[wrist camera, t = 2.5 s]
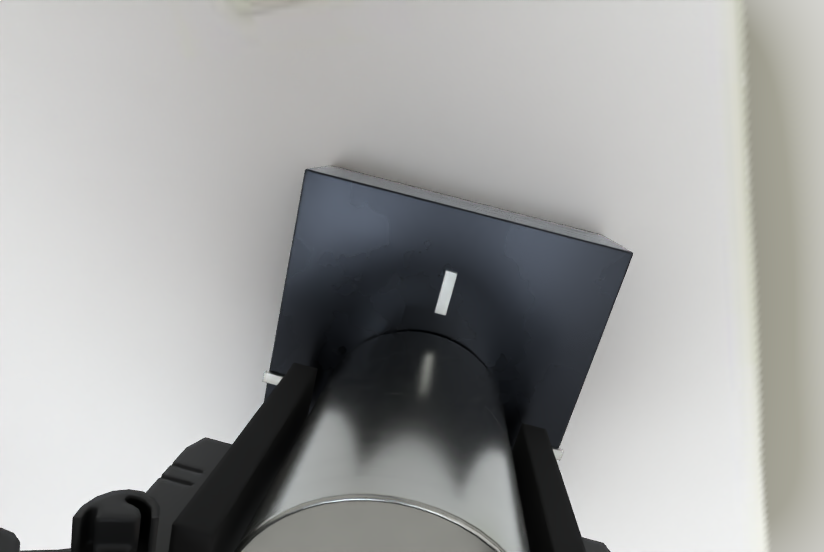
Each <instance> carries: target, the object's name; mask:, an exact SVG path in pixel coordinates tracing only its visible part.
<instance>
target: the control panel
mask: <svg viewBox="0 0 824 552" xmlns="http://www.w3.org/2000/svg"><path fill="white" fill-rule="evenodd" d="M632 256H633V253H632V252H631V251H629V250H627V249H626V248H624V247H622V246H620V245H619V244H617V243H615V242H614V241H612V240H610V239H608V238H607V237H605V236H603V235H600V234H596V233H593V232H589V231H585V230H581V229H577V228H573V227H569V226H565V225H561V224H557V223H553V222H550V221H546V220H542V219H538V218H534V217H530V216H526V215H522V214H518V213H514V212H511V211H507V210H503V209H499V208H495V207H491V206H487V205H483V204H479V203H475V202H471V201H468V200H464V199H460V198H456V197H452V196H448V195H444V194H440V193H436V192H432V191H429V190H425V189H421V188H417V187H413V186H409V185H405V184H401V183H397V182H393V181H390V180H386V179H382V178H378V177H374V176H370V175H366V174H362V173H358V172H354V171H350V170H347V169H343V168H339V167H335V166H325V167H317V168H310V169H306V170H305V173H304V179H303V185H302V190H301V196H300V202H299V207H298V213H297V218H296V224H295V230H294V235H293V241H292V247H291V252H290V258H289V263H288V269H287V275H286V280H285V286H284V292H283V297H282V303H281V308H280V314H279V320H278V325H277V331H276V337H275V342H274V348H273V353H272V359H271V365H270V370H269V371H265V372H264V377H263V382H266V383H267V387H266V393H265V398H264V402H265V400H266V399H267V398H268V396H269V395H270V394H271V392H272V391H273V390H274V388H275V387H276V386H277V384H278V383H279V382H280V380H281V379H282V378H283V377H284V375H285V374H286V373H287V371H288V370H289V369H290V367H291V366H292V365H293V363H298V364H302V365H306V366H309V367H313V368H317V369H318V370H317V375H316V380H315V385H314V389H313V394H312V399H311V404H310V408H309V413H308V415H309V414H310V412H311V410H312V408H313V406H314V405H315V403H316V401H317V399H318V397H319V395H320V394H321V392H322V390H323V388H324V386H325V385H326V383H327V381H328V379H329V377H330V375H331V374H332V372H333V370H334V369H335V367H336V366H337V364H338V363H339V362H340V361H341V360H342V359H343V358H344V356H345V355H347V354H348V353H349V352H350V351H351V350H353V349H354V348H355V347H357V346H358V345H360V344H362V343H363V342H365V341H368V340H370V339H372V338H374V337H377V336H381V335H384V334H388V333H394V332H405V331H413V332H424V333H429V334H434V335H437V336H440V337H443V338H446V339H448V340H450V341H453V342H455V343H457V344H459V345H460V346H462V347H463V348H465V349H466V350H468V351H469V352H470V353H472V354H473V355H474V356H475V357H476V358H478V360H479V361H480V362H481V363H482V364H483V365H484V366H485V367H486V369H487V370H488V371H489V373H490V374H491V376H492V377H493V379H494V381H495V383H496V385H497V387H498V390H499V393H500V396H501V400H502V405H503V410H504V415H505V421H506V426H507V431H508V437H509V442H510V447H511V452H512V450H513V447H514V444H515V441H516V438H517V435H518V433H519V430H520V427H521V424H522V423H524V424H528V425H532V426H536V427H540V428H543V429H546V430H547V433H548V437H549V440H550V443H551V446H552V449H553V452H554V455H555V458H556V460H559V461H560V459H561V457H562V454H563V449H560V448H559V446H560V444H561V441H562V438H563V436H564V433H565V430H566V428H567V425H568V423H569V420H570V417H571V415H572V412H573V410H574V407H575V404H576V402H577V399H578V397H579V394H580V391H581V389H582V386H583V384H584V381H585V378H586V376H587V373H588V370H589V368H590V365H591V363H592V360H593V357H594V355H595V352H596V350H597V347H598V344H599V342H600V339H601V337H602V334H603V331H604V329H605V326H606V324H607V321H608V318H609V316H610V313H611V310H612V308H613V305H614V303H615V300H616V297H617V295H618V292H619V290H620V287H621V284H622V282H623V279H624V277H625V274H626V271H627V269H628V266H629V263H630V261H631V258H632Z"/></svg>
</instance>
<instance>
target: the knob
mask: <svg viewBox="0 0 824 552" xmlns="http://www.w3.org/2000/svg"><path fill="white" fill-rule="evenodd" d="M234 552H530V548H529V543H528V537H527V532H526V527H525V521H524V516H523V511H522V506H521V500H520V495H519V490H518V484H517V479H516V474H515V468H514V463H513V458H512V453H511V447H510V442H509V437H508V431H507V426H506V421H505V415H504V410H503V405H502V400H501V396H500V393H499V390H498V387H497V385H496V383H495V381H494V379H493V377H492V376H491V374H490V373H489V371H488V370H487V369H486V367H485V366H484V365H483V364H482V363H481V362H480V361H479V360H478V358H476V357H475V356H474V355H473V354H472V353H470V352H469V351H468V350H466V349H465V348H463V347H462V346H460V345H459V344H457V343H455V342H453V341H450V340H448V339H446V338H443V337H440V336H437V335H434V334H429V333H424V332H413V331H405V332H394V333H388V334H384V335H381V336H377V337H374V338H372V339H370V340H368V341H365V342H363V343H362V344H360V345H358V346H357V347H355V348H354V349H353V350H351V351H350V352H349V353H348V354H347V355H345V356H344V358H343V359H342V360H341V361H340V362H339V363H338V364H337V366H336V367H335V369H334V370H333V372H332V374H331V375H330V377H329V379H328V381H327V383H326V385H325V386H324V388H323V390H322V392H321V394H320V395H319V397H318V399H317V401H316V403H315V405H314V406H313V408H312V410H311V412H310V414H309V415H308V417H307V419H306V421H305V423H304V425H303V426H302V428H301V430H300V432H299V434H298V435H297V437H296V439H295V441H294V443H293V445H292V446H291V448H290V450H289V452H288V454H287V456H286V457H285V459H284V461H283V463H282V465H281V466H280V468H279V470H278V472H277V474H276V476H275V477H274V479H273V481H272V483H271V485H270V486H269V488H268V490H267V492H266V494H265V496H264V497H263V499H262V501H261V503H260V505H259V507H258V508H257V510H256V512H255V514H254V516H253V517H252V519H251V521H250V523H249V525H248V527H247V528H246V530H245V532H244V534H243V536H242V537H241V539H240V541H239V543H238V545H237V547H236V548H235V550H234Z"/></svg>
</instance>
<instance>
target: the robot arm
mask: <svg viewBox="0 0 824 552" xmlns="http://www.w3.org/2000/svg"><path fill="white" fill-rule="evenodd" d="M317 370H318V369H317V368H313V367H309V366H306V365H302V364H298V363H293V365H292V366H291V367H290V369H289V370H288V371H287V373H286V374H285V375H284V377H283V378H282V379H281V380H280V382H279V383H278V384H277V386H276V387H275V388H274V390H273V391H272V392H271V394H270V395H269V396H268V398H267V399H266V400H265V402H264V403H263V404H262V406H261V407H260V408H259V410H258V411H257V412H256V414H255V415H254V416H253V418H252V419H251V420H250V422H249V423H248V424H247V426H246V427H245V428H244V430H243V431H242V432H241V434H240V435H239V436H238V438H237V439H236V440H235V442H234V443H233V444H228V443H224V442H221V441H217V440H213V439H210V438H206V437H205V438H203V439H202V440H200V441H198V442H196V443H194V444H192V445H190V446H189V447H187V448H186V449H185V450H184V451H183V452H182V453H181V454H180V455H179V456H178V457H177V459H176V460H175V461H174V462H173V464H172V466H171V465H170V466H169V467H168V469H167V470H166V471H165V472H164V473H163V474H162V476H161V478H159V479H158V480H157V481H156V482H155V483H154V484H153V485H152V486H151V487H150V489H149V490H148V491H147V492H146V493H145V492H142V491H136V490H130V489H128V490H118V491H112V492H109V493H106V494H103V495H100V496H97V497H95V498H94V499H92V500H91V501H89V502H88V503H86V504H84V505H83V506H82V507H81V508H80V509H79V510H78V512H77V513H76V514H75V515H74V517H73V523H72V540H71V548H69V549H60V550H31V551H20V541H19V540H18V538H17V537H16V535H15V534H14V533H12V532H10V531H8V530H5V529H3V528H0V552H234V550H235V548H236V547H237V545H238V543H239V541H240V539H241V537H242V536H243V534H244V532H245V530H246V528H247V527H248V525H249V523H250V521H251V519H252V517H253V516H254V514H255V512H256V510H257V508H258V507H259V505H260V503H261V501H262V499H263V497H264V496H265V494H266V492H267V490H268V488H269V486H270V485H271V483H272V481H273V479H274V477H275V476H276V474H277V472H278V470H279V468H280V466H281V465H282V463H283V461H284V459H285V457H286V456H287V454H288V452H289V450H290V448H291V446H292V445H293V443H294V441H295V439H296V437H297V435H298V434H299V432H300V430H301V428H302V426H303V425H304V423H305V421H306V419H307V417H308V413H309V408H310V404H311V399H312V394H313V389H314V385H315V380H316V375H317ZM511 453H512V458H513V463H514V468H515V474H516V479H517V484H518V490H519V495H520V500H521V506H522V511H523V516H524V521H525V527H526V532H527V537H528V543H529V548H530V552H610V551H609V549H608V548H607V547H606V545H605V544H604V543H601V542H598V541H594V540H590V539H587V538H583V537H581V534H580V531H579V528H578V525H577V522H576V519H575V516H574V513H573V510H572V507H571V504H570V500H569V497H568V494H567V491H566V488H565V485H564V482H563V479H562V476H561V473H560V470H559V467H558V464H557V461H556V458H555V455H554V452H553V449H552V446H551V443H550V440H549V437H548V433H547V430H546V429H543V428H540V427H536V426H532V425H528V424H524V423H522V424H521V427H520V430H519V433H518V435H517V438H516V441H515V444H514V447H513V450H512V452H511Z"/></svg>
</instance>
